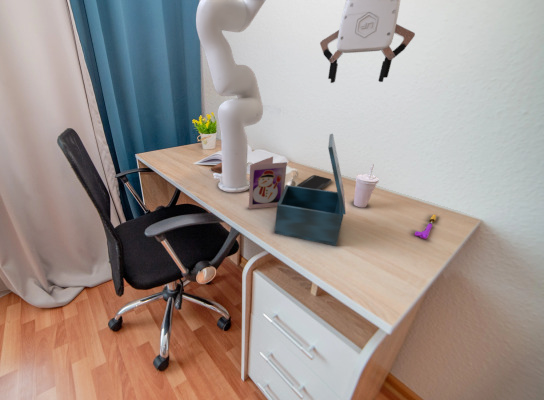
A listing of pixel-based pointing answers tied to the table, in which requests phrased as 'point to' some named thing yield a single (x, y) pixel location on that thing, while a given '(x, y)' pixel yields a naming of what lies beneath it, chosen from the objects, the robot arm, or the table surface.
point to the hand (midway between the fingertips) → (355, 82)
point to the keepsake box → (309, 214)
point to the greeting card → (266, 183)
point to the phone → (315, 182)
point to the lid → (336, 173)
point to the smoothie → (364, 188)
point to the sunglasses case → (217, 168)
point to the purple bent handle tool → (425, 233)
